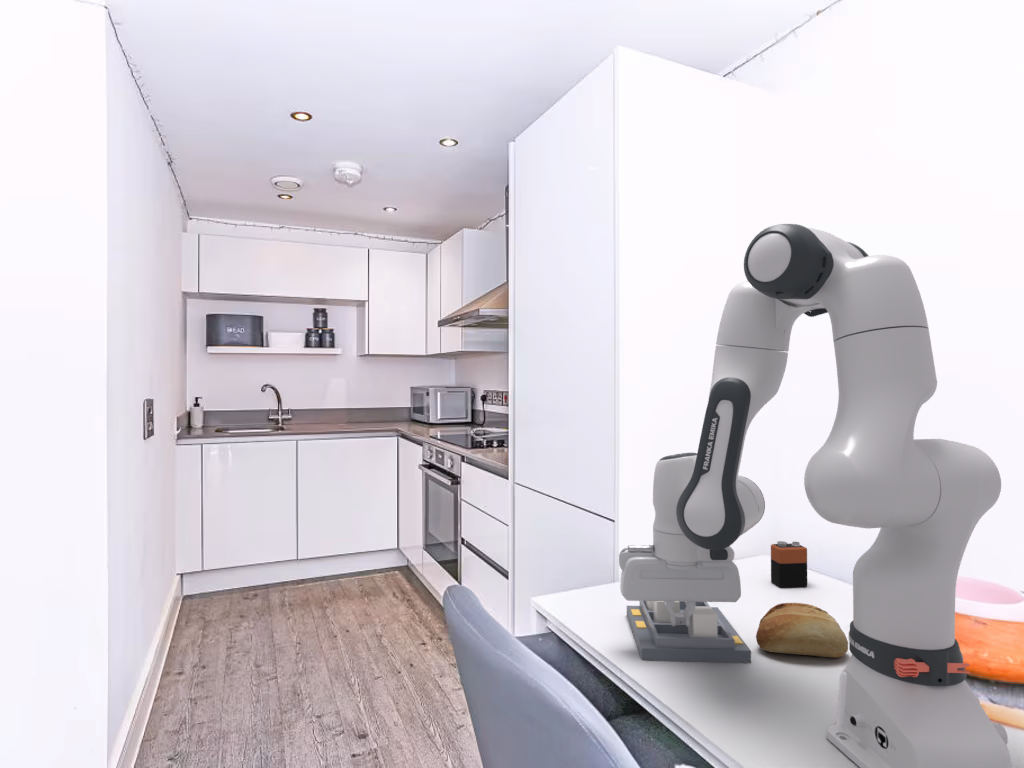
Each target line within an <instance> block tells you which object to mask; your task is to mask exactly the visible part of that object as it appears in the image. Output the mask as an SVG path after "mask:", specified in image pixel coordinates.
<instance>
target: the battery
mask: <svg viewBox="0 0 1024 768" xmlns="http://www.w3.org/2000/svg"><path fill="white" fill-rule="evenodd" d="M770 582H771V584H774V585H776V586H777V587H778V588H781V589H786V588H787V589H793V588H807V587H808V548H807V547H805V546H803V545H801V544H800V542H799V541H792V543H788V542H787V541H781V540H778V541H776V543H772V544H770Z"/></svg>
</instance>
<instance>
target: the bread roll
mask: <svg viewBox="0 0 1024 768" xmlns="http://www.w3.org/2000/svg"><path fill="white" fill-rule="evenodd" d="M755 640H756V643H757V646H758V647H759V648H761V650H764V651H766V652H769V653H779V654H790V655H804V656H806V655H807V656H816V657H822V658H823V657H824V658H831V659H837V658H842V657H843V656H845V655H846V654H847V652H848V651H849V640H848V637H847V636H846V634H845V632H844V630H842V628H841V626H840V624H839V622H837V620H836V619H835V618H834V617H833V616H832V615H830V614H829V612H828V611H826V610H824V609H821V608H820V607H818V606H815V605H812V604H809V603H803V602H782V603H778V604H776V605H774V606H773V607H771V608H769V610H768V611H767V612H766V613H765V615H763V616H762V618H761V619H760V621H759V625H758V628H757V631H756V634H755Z"/></svg>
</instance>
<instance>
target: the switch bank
mask: <svg viewBox="0 0 1024 768" xmlns="http://www.w3.org/2000/svg"><path fill="white" fill-rule="evenodd" d="M679 602H680V613H683V612H684V610H685V608H686V606H687V605H686V604H685V601H679ZM696 606H710V604H709V602H696ZM711 607H712V608H713V610H714V611H715V612H716V614H717V638H714V637H690V636H689V635H688V627H680V626H675V627H674V626H672V625H671V623H654V611H649V610H647V608H646V601H639V605H626V617H627V621H628V623H629V626H630V629H631V633H632V635H633V638H634V642H635V644H636V646H637V647H636V648H637V650H638V653H639V656H640V658H641V661H656V662H657V661H662V662H663V661H664V662H665V661H666V662H670V661H671V662H701V663H702V662H703V663H704V662H708V663H709V662H710V663H744V664H745V663H748V664H749V663H750V664H751V663H752V650H751V648H750V647H749V646H748V645H747V643H746V642H745V641H744V640H743V638H742V637H741V636H740V634H739V633H738V632H737V631H736V629H735V627H734V626H733V625H732V624H731V622H730V621H729V620H728V619H727V617H726V616H725V615H724V613H723V612H722V611H721V609H719V607H718V606H711Z"/></svg>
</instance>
